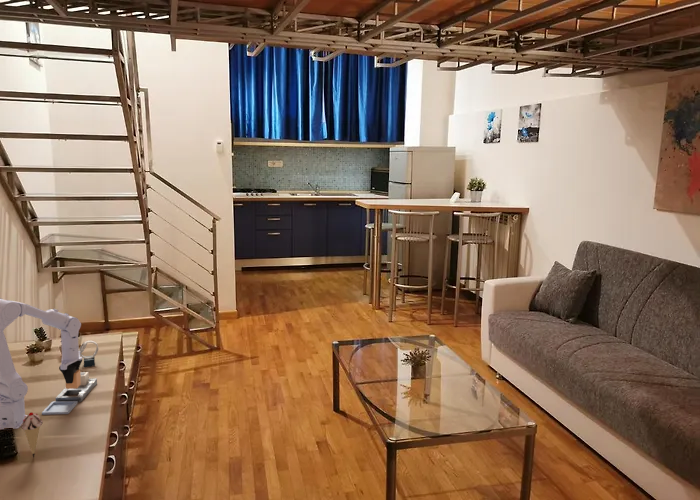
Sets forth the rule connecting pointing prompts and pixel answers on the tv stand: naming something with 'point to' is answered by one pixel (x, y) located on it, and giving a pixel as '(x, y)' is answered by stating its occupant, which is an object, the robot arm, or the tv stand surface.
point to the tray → (59, 407)
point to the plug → (75, 381)
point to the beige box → (84, 378)
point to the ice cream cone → (32, 429)
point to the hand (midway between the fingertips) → (71, 380)
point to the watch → (88, 360)
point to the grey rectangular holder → (77, 392)
